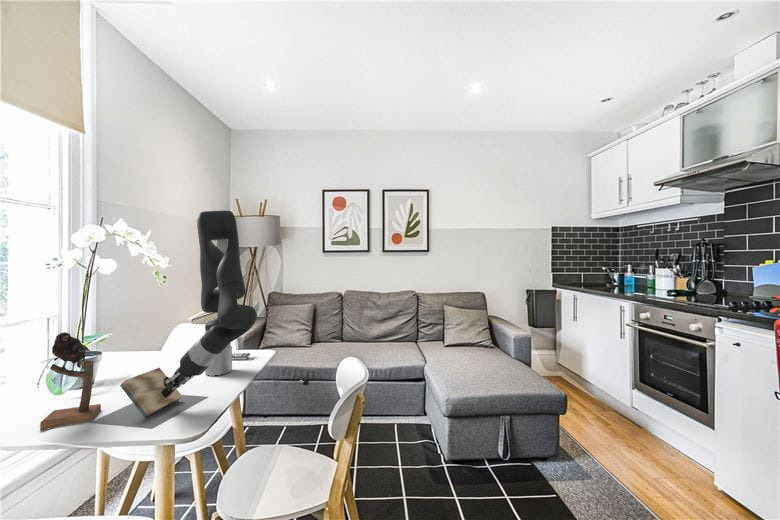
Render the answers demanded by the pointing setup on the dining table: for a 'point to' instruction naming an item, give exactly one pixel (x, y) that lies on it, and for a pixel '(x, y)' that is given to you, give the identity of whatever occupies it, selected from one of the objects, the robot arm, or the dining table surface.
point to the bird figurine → (74, 353)
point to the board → (149, 392)
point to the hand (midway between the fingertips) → (164, 394)
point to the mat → (135, 419)
